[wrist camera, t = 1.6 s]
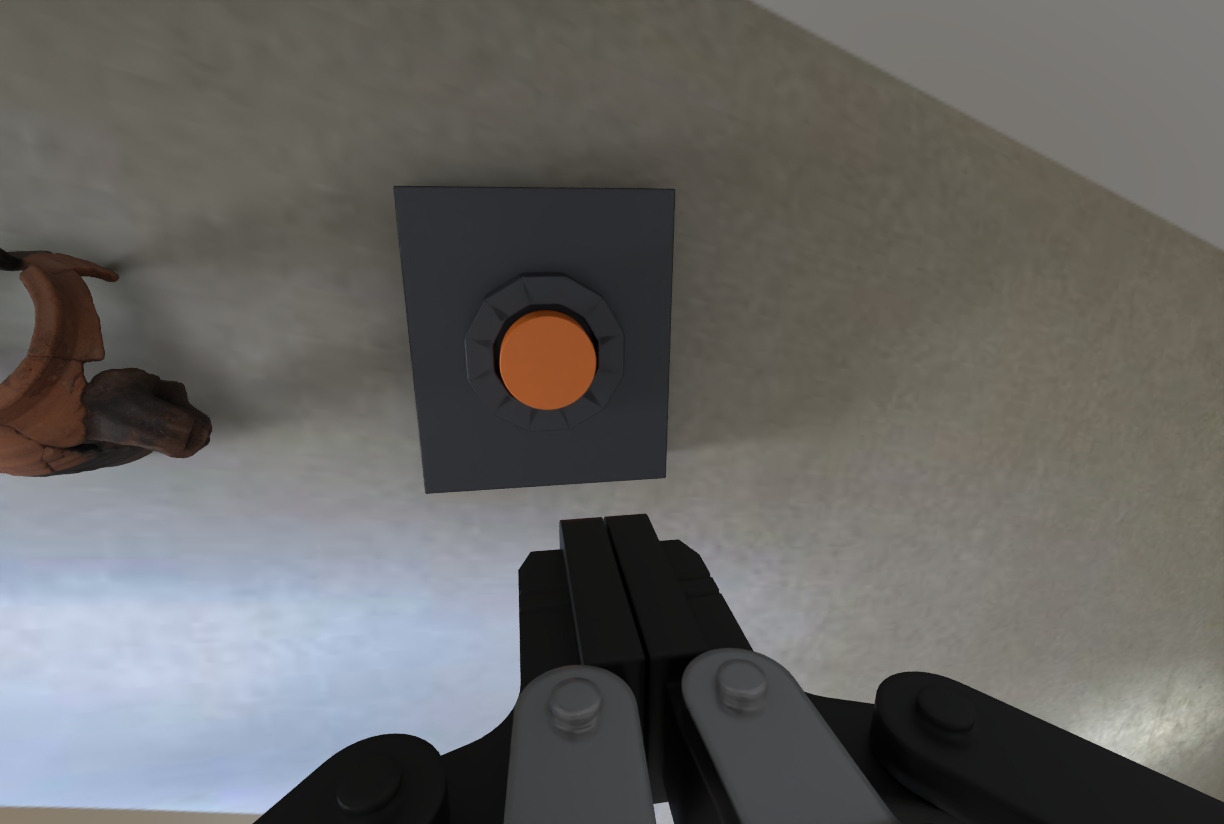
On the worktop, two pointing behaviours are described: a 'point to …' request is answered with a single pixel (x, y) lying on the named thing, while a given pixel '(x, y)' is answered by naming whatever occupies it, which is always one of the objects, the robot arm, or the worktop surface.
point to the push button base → (520, 284)
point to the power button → (547, 360)
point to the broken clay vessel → (83, 385)
